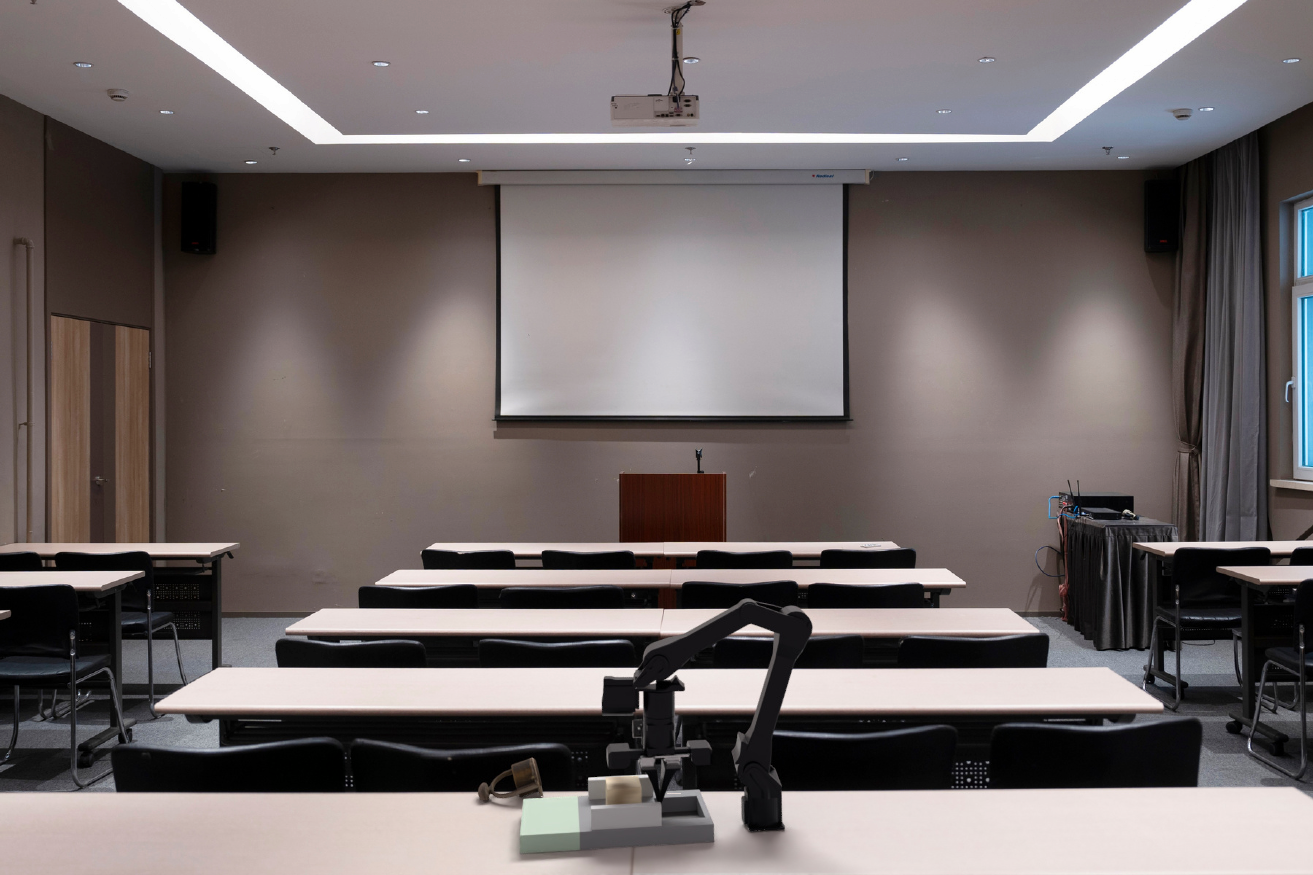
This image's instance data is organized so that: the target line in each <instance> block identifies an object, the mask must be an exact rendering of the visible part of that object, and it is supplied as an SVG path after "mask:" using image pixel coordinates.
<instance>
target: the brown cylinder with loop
mask: <svg viewBox="0 0 1313 875" xmlns="http://www.w3.org/2000/svg"><path fill="white" fill-rule="evenodd" d="M511 775H513V781H514V784H515V788H516V789H515V790H513V791H509V792H504V793H499V792H496V791H494V790H495V789H494V788H495V787H496V784H497V783H498V782H499V781H501V780H502V779H503V778H505V777H508V776H511ZM491 781H492V782H491V783H490V785H488V784H487V782H482V783H481V784H480V785H479V787H478V791H477V795H478V798H479V799H480V800H481V801H482V802H488V801H490V800H489V799H490V795H492V796H493V797H494V798H496V799H509V798H513V797H516V796H518V797H519V798H524V797H526V795H527V796H529V795H531V794H534V793H537V792H538V794H539V796H543V797H544V792H543V788H542V784H543V783H542V780H541V776H540V772H539V768H538V764H537V760H536V759H535V758H533V757H531V758H527V759H525V760H522V761H518V762H515V763H513V764H511V768H510V769H508V770H505V771H503V772H502V773H500V774H499V775H497V776H495V778H494V779H493V780H491ZM523 796H524V797H523Z"/></svg>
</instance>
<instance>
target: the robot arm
mask: <svg viewBox="0 0 1313 875" xmlns="http://www.w3.org/2000/svg"><path fill="white" fill-rule="evenodd" d="M749 625H753V626H756V627H759V628H761V629H764V630H767V631H770V632H772V633H773V644H772V645H773V649H772V656H771V659H770V661H769V664H768V667H767V671H766V675H765V679H764V682H763V686H762V688H761V692H760V695H759V698H758V701H757V702H758V703H757V706H756V709H755V712H754V715H753V719H752V722H751V725H750V727H749V728H748V730H747V731H746V733H745V734H744V733H743V732H740V731H738V732H737V738H736V743H735V746H734V748H733V749H732V750H731V754H732V757H733V762H734V767H735V770H736V774H737V776H738V779H739V781H740V782H741V783H742V784H743V785H745V786H744V787H743V792H744V793H743V795H741V797H740V798H741V800H740V802H741V804H740V806H741V807H740V808H741V810H740V812H741V820H742V822H743V824H744V825H745V826H746V828H747V830H748V831H749V832H764V831H784V830H786V825H785V824H784V822H783V791H782V789H783V786H782V783H781V780H780V779H779V776H778V773H777V770H776V768H775V767H773V765H771V763H772V751H773V750H772V749H773V736H774V733H775V730H776V729H775V728H776V725H777V722H778V720H779V719H778V718H779V715H780V712H781V709H782V706H783V703H784V698H785V696H786V693H787V689H788V685H789V683H790V679H791V676H792V672H793V668H794V666H795V663H796V661H797V660H798V658H800V655H801V654H802V653H803V651H804V649H805V648H806V646H807V643H808V642H809V639H810V638H811V636H812V634H813V633H812V632H813V628H814V626H813V623H812V620H811V618H810V617H809V616H808V615H807V614H806V613H805V611H804V610H802V609H801V607H798V606H796V605H787V606H784V607H781V606H778V605H774V604H769V603H764V602H759V601H756V600H753V599H752V598H744V599H741V600H740V601H739V602H738V603H737V604H735V605H733V606H731V607H730V608H728V609H726V610H724V611H722V612H721V613H719V614H717V615H715V616H713V617H711V618H709V619H708V620H706V621H704V622H703V623H701V624H699V625H697V626H695V627H693V628H692V629H690V630H688V631H686V632H684V633H681V634H678V635H674V636H669V637H665V638H663V639H660V640H657V641H654V642H651V643H650V644H649V645H647V646H646V648H645V650H644V652H643V655H642V662H641V664H639V666H638V667H637V669H635V672H634V673H633V676H613V675H604V677H603V680H602V682H603V683H602V686H603V687H602V697H601V715H602V716H603V717H604V716H605V717H606V716H607V717H608V716H610V717H611V716H634V713H637V710H640V692H642V715H643V716H642V718H643V719H632V721H631V722H632V723H631V724H632V725H631V732H632V733H631V734H632V738H633V739H637V738H639V739H641V746H642V748H630V745H629V743H628V742H624V743H623V742H621V743H620V742H619V743H609V744H608V745H607V747H606V762H607V769H609V770H620V769H621V770H623V769H627V768H628V767H629V766H630V765H631V762H633V761H637V764H638V768H639V771H640V772H641V773H646V775H648V777H649V779H650V781H651V784H652V786H653V792H654V793H655V796H656V799H657V802H661V803H662V802H663V799H664V796H665V794H666V791H667V790H668V788H669V786H670V783H671V781H672V780H673V777H674V775H675V774H676V772H680V771H681V770H682V765H681V763H680V762H681V761H682V760H681V759H691V760H690V761H691V762H692V763H693V764H694V765H695V766H711V765H713V763H714V753H713V749H712V747H711V745H710V743H709V742H708V741H707V739H695V740H687V741H686V746H681V747H680V746H679V747H678V746H676V700H675V699H676V696H675V694H676V693H675V692H685V691H686V686H685V683H684V681H682V680H681V679H680V678H679V676H678V675H677V674H675V673H676V672H677V671H679V670H680V669H681V668H682V667H683V666H684V665H685V664H686V663H688V661H689V660H690V659H692V658H693V657H694V656H695V655H696V654H698V653H700V652H702V651H703V650H705V649H707V648H709V647H711V646H713V645H715V644H716V643H718V642H719V641H722V640H724V639H725V638H727V637H729V636H730V635H733V634H735V633H736V632H737V631H740V630H742V629H743V628H745V627H747V626H749ZM674 674H675V675H674ZM672 675H674V676H673V677H672ZM670 677H672V678H670ZM668 678H670V679H668ZM654 682H655V683H654ZM656 760H661V765H660V766H661V767H660V769H661V770H660V779H659V775H658V767H657V766H656ZM659 780H660V781H659Z"/></svg>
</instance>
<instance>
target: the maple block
mask: <svg viewBox="0 0 1313 875" xmlns="http://www.w3.org/2000/svg"><path fill="white" fill-rule="evenodd" d="M621 776H622V777H610V776H604V777H605V779H606V805H616V804H634V803H642V797H641V784H640V780H639V776H630V775H621Z"/></svg>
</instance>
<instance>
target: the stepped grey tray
mask: <svg viewBox="0 0 1313 875" xmlns="http://www.w3.org/2000/svg"><path fill="white" fill-rule="evenodd" d="M622 776H623V775H611V776H610V775H609V777H622ZM629 776H639V780H640V784H641V797H642V803H634V804H616V805H606V779H605V777H606V776H597V777H595V776H594V777H588V779H587V783H588V784H587V785H588V786H587V790H588V791H587V792H588V793H587V795H574V796H573V795H572V796H558V797H557V796H555V797H554V796H553V797H542V798H541V797H539V798H536V797H535V798H533V797H532V798H523V800H522V810H521V819H520V829H519V830H520V831H519V854H520V855H521V854H532V853H534V854H537V853H551V852H552V853H553V852H568V851H582V850H584V851H585V850H601V849H616V848H618V849H621V848H634V847H635V848H637V847H649V846H665V845H667V846H669V845H681V844H682V845H683V844H684V845H685V844H687V845H688V844H700V843H701V844H702V843H715V824H714V820H713V819H712V816H711V814H710V812H709V809H708V807H707V804H706V802H705V798H704V797H703V795H702V792H701V790H700V789H682V790H668V791H666V794H665V796H664V799H663V802H662V803H661V802H657V799H656V796H655V793H654V790H653V786H652V784H651V781H650V779H649V777H648V775H647V774H635V775H633V774H632V775H629ZM667 793H681V794H667Z"/></svg>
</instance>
